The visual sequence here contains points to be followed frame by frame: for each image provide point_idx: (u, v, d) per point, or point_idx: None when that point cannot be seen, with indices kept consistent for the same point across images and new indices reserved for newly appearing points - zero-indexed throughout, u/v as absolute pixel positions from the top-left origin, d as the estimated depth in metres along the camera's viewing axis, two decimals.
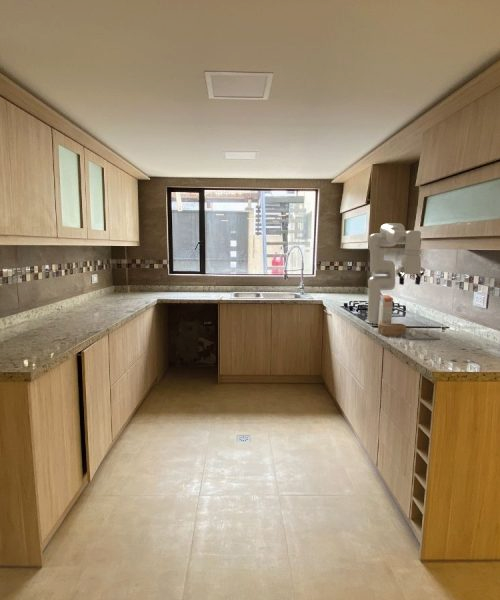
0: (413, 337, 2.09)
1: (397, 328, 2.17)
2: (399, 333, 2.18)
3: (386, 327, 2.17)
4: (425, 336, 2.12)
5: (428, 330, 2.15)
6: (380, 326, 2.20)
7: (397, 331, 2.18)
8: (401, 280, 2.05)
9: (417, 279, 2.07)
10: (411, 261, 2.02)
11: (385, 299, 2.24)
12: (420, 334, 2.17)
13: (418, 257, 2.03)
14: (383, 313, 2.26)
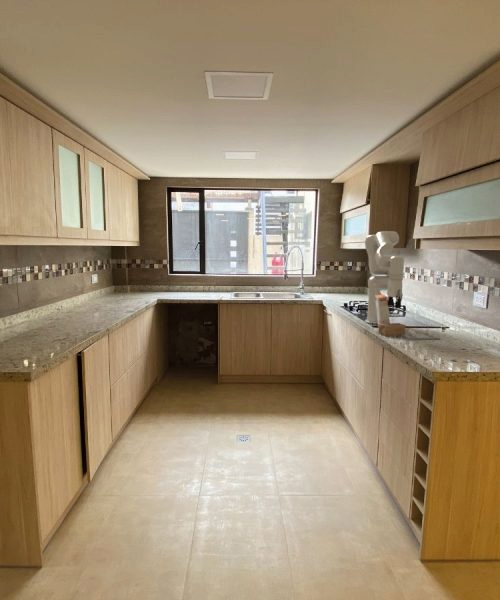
0: (413, 337, 2.09)
1: (398, 328, 2.18)
2: (399, 333, 2.19)
3: (388, 327, 2.16)
4: (425, 336, 2.12)
5: (428, 330, 2.15)
6: (381, 327, 2.18)
7: (397, 331, 2.18)
8: (399, 304, 2.13)
9: (391, 301, 2.22)
10: None
11: (380, 299, 2.25)
12: (420, 334, 2.17)
13: None
14: (380, 313, 2.26)
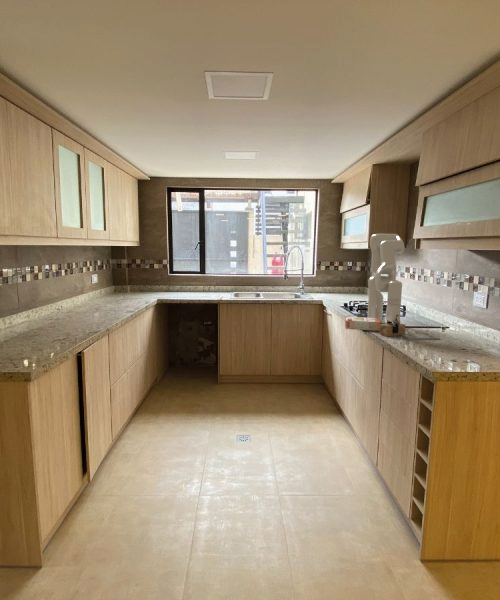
0: (413, 337, 2.09)
1: None
2: (400, 332, 2.19)
3: (389, 327, 2.15)
4: (425, 336, 2.12)
5: (428, 330, 2.15)
6: (382, 327, 2.17)
7: (398, 331, 2.18)
8: (397, 329, 2.15)
9: None
10: None
11: (347, 327, 2.32)
12: (420, 334, 2.17)
13: None
14: (361, 328, 2.30)
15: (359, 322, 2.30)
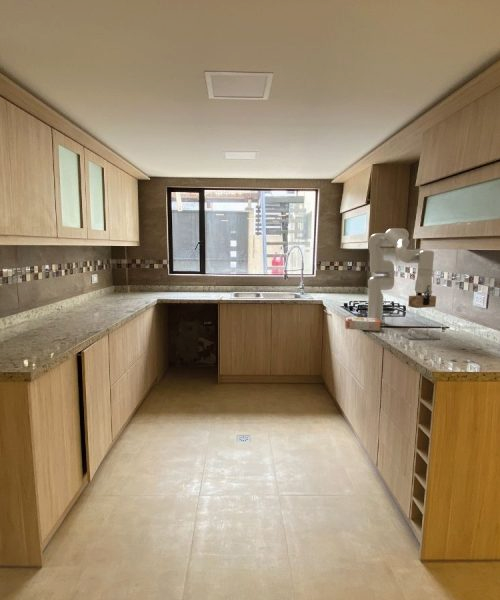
0: (413, 337, 2.09)
1: None
2: (430, 304, 2.09)
3: (420, 299, 2.06)
4: (425, 336, 2.12)
5: (428, 330, 2.15)
6: (412, 298, 2.08)
7: None
8: (428, 301, 2.06)
9: None
10: None
11: (347, 327, 2.32)
12: (420, 334, 2.17)
13: None
14: (361, 328, 2.30)
15: (359, 322, 2.30)
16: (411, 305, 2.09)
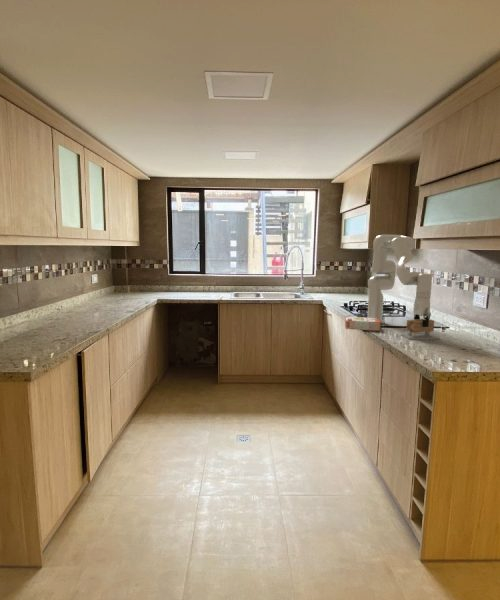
0: (413, 337, 2.09)
1: None
2: (428, 328, 2.11)
3: (417, 323, 2.08)
4: (425, 336, 2.12)
5: None
6: (410, 322, 2.10)
7: (426, 327, 2.11)
8: (427, 323, 2.07)
9: (417, 318, 2.17)
10: None
11: (347, 327, 2.32)
12: (420, 334, 2.17)
13: None
14: (361, 328, 2.30)
15: (359, 322, 2.30)
16: (409, 329, 2.11)
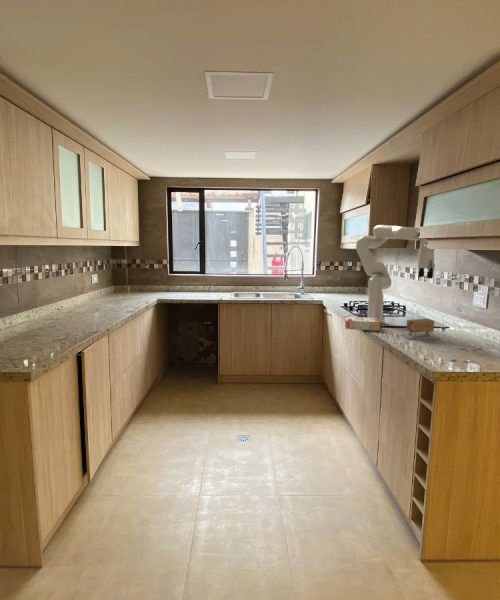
0: (413, 337, 2.09)
1: (426, 324, 2.10)
2: (428, 328, 2.11)
3: (417, 323, 2.08)
4: (425, 336, 2.12)
5: None
6: (410, 322, 2.10)
7: (426, 327, 2.11)
8: (431, 274, 2.17)
9: (422, 272, 2.27)
10: None
11: (347, 327, 2.32)
12: (420, 334, 2.17)
13: None
14: (361, 328, 2.30)
15: (359, 322, 2.30)
16: (409, 329, 2.11)
